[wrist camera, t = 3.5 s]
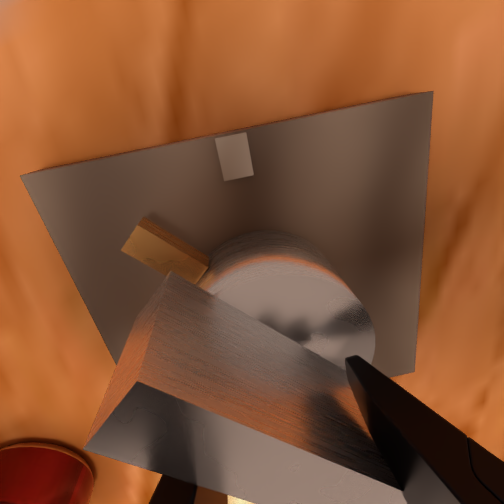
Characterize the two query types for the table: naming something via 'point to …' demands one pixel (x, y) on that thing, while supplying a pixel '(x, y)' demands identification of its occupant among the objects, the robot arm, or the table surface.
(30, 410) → the table surface
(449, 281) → the table surface
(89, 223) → the post base
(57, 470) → the soda can
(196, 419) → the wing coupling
